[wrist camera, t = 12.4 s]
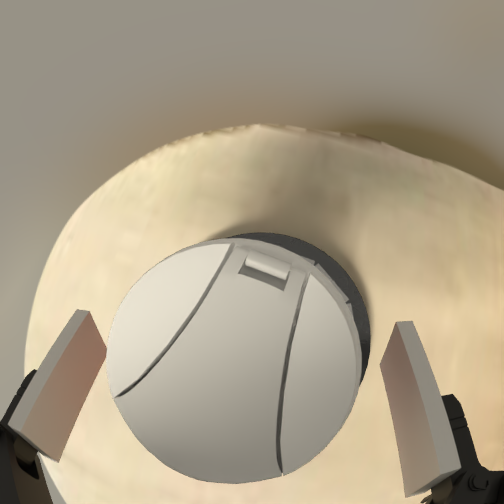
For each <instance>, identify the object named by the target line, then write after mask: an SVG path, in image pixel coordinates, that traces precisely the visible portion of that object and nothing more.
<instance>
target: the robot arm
mask: <svg viewBox="0 0 504 504" xmlns="http://www.w3.org/2000/svg"><path fill="white" fill-rule="evenodd" d="M106 353H107V348H106V346H105V344H104V342H103V339H102V337H101V335H100V333H99V331H98V329H97V327H96V325H95V322H94V320H93V318H92V316H91V313H90V311H85V310H76V311H75V313H74V314H73V316H72V317H71V319H70V320H69V322H68V323H67V325H66V326H65V328H64V329H63V331H62V332H61V334H60V335H59V337H58V338H57V340H56V341H55V343H54V344H53V346H52V347H51V349H50V351H49V352H48V354H47V355H46V357H45V359H44V360H43V362H42V363H41V365H40V367H39V368H38V370H35V369H34V370H33V371H31V372H30V373H29V374H28V375H27V376H26V377H25V379H24V381H23V382H22V384H21V387H20V388H19V389H18V391H17V395H15V396H14V398H13V400H12V402H11V404H10V406H9V407H8V409H7V411H6V413H5V415H4V417H3V419H2V420H1V421H0V504H53V502H52V499H51V496H50V493H49V490H48V487H47V484H46V481H45V477H44V474H43V470H42V467H41V463H40V459H39V457H38V455H37V452H38V451H39V452H40V453H41V454H42V455H44V456H45V457H47V458H49V459H51V460H53V461H55V462H57V463H59V460H60V458H61V455H62V453H63V450H64V448H65V445H66V443H67V441H68V438H69V436H70V433H71V431H72V429H73V426H74V424H75V422H76V420H77V417H78V415H79V413H80V411H81V408H82V406H83V404H84V402H85V400H86V397H87V395H88V393H89V391H90V389H91V387H92V385H93V382H94V380H95V378H96V376H97V374H98V372H99V370H100V368H101V366H102V364H103V362H104V360H105V358H106ZM380 368H381V372H382V376H383V380H384V384H385V388H386V392H387V397H388V401H389V406H390V410H391V415H392V420H393V425H394V430H395V435H396V440H397V446H398V451H399V457H400V463H401V469H402V476H403V483H404V490H405V498H406V497H410V496H414V495H418V494H422V493H425V492H426V491H428V490H429V489H431V492H432V494H431V495H429V496H427V497H425V498H424V499H423V500H422V501H421V502H420V503H422V504H423V503H424V502H426V501H427V502H426V504H504V471H489V470H488V469H486V468H485V467H483V466H481V464H480V463H479V461H478V458H477V455H476V451H475V448H474V444H473V441H472V437H471V434H470V431H469V427H467V425H468V424H467V421H466V418H464V416H465V415H464V412H463V409H462V406H461V404H460V402H459V401H458V400H457V399H456V397H455V396H454V395H453V394H450V395H445V396H441V395H440V392H439V389H438V386H437V383H436V380H435V377H434V374H433V372H432V369H431V366H430V364H429V361H428V358H427V356H426V353H425V351H424V348H423V346H422V343H421V341H420V338H419V336H418V333H417V331H416V328H415V326H414V324H413V321H403V322H396V323H395V326H394V329H393V332H392V334H391V337H390V340H389V342H388V345H387V348H386V350H385V353H384V355H383V358H382V360H381V363H380Z"/></svg>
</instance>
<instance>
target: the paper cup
mask: <svg viewBox="0 0 504 504" xmlns="http://www.w3.org/2000/svg"><path fill="white" fill-rule="evenodd" d="M106 363H107V377H108V382H109V388H110V392H111V395H112V398H113V399H114V402H115V404H116V406H117V408H118V410H119V411H120V413H121V415H122V417H123V419H124V420H125V422H126V423H127V425H128V427H129V428H130V430H131V431H132V433H133V434H134V435H135V437H136V438H137V439H138V440H139V441H140V443H141V444H142V445H143V446H144V447H145V448H146V449H147V450H148V451H149V452H150V453H152V454H153V455H154V456H155V457H156V458H157V459H158V460H160V461H161V462H162V463H164V464H165V465H166V466H168V467H170V468H171V469H173V470H175V471H177V472H179V473H181V474H184V475H186V476H188V477H191V478H194V479H197V480H201V481H206V482H215V483H229V484H240V483H248V482H256V481H262V480H266V479H271V478H276V477H280V476H282V473H283V476H284V475H287V474H289V473H291V472H293V471H295V470H297V469H298V468H300V467H302V466H303V465H305V464H307V463H308V462H310V461H311V460H312V459H313V458H314V457H315V456H317V455H318V454H319V453H320V452H321V451H322V450H324V449H325V447H326V446H327V445H328V444H329V443H330V441H331V440H332V439H333V438H334V437H335V435H336V434H337V433H338V431H339V430H340V429H341V428H342V426H343V424H344V423H345V421H346V419H347V417H348V416H349V414H350V412H351V410H352V407H353V405H354V402H355V399H356V396H357V393H358V389H359V384H360V378H361V369H362V352H361V346H360V340H359V334H358V331H357V328H356V325H355V322H354V319H353V316H352V313H351V312H350V310H349V308H348V306H347V304H346V302H345V301H344V299H343V297H342V295H341V294H340V293H339V291H338V290H337V289H336V288H335V286H334V285H333V284H332V282H331V281H330V280H329V279H328V278H327V277H326V276H325V275H324V274H323V273H322V272H320V271H319V270H318V269H317V268H316V267H315V266H314V265H312V264H311V263H309V262H308V261H306V260H305V259H303V258H302V257H300V256H299V255H297V254H295V253H293V252H291V251H289V250H286V249H284V248H282V247H280V246H277V245H273V244H270V243H266V242H263V241H259V240H251V239H243V238H229V239H216V240H211V241H205V242H200V243H198V244H195V245H192V246H189V247H186V248H184V249H181V250H180V251H178V252H176V253H174V254H172V255H170V256H168V257H167V258H165V259H164V260H163V261H161V262H159V263H158V264H156V265H155V266H154V267H153V268H151V269H150V270H149V271H147V272H146V273H145V274H144V275H143V276H142V277H141V278H140V279H139V280H138V281H137V282H136V283H135V284H134V285H133V286H132V288H131V289H130V291H129V292H128V294H127V295H126V296H125V298H124V299H123V301H122V302H121V304H120V307H119V309H118V311H117V313H116V315H115V317H114V320H113V323H112V327H111V330H110V333H109V338H108V345H107V353H106Z"/></svg>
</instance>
